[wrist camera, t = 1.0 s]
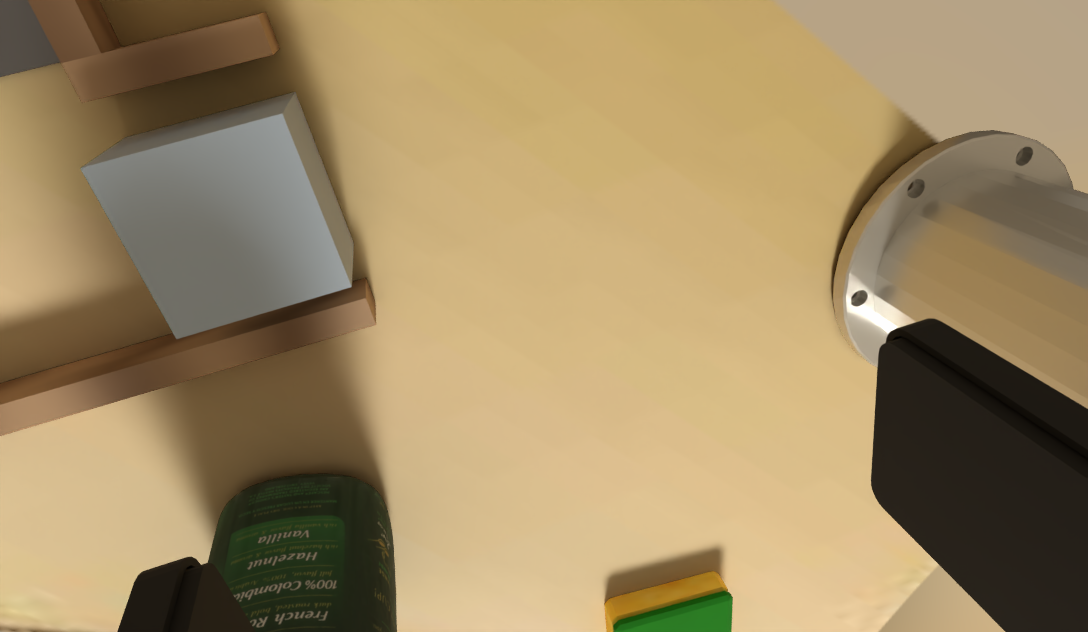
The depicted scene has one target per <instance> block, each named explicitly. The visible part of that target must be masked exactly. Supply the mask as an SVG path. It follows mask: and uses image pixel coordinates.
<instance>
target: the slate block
mask: <svg viewBox="0 0 1088 632" xmlns="http://www.w3.org/2000/svg"><path fill="white" fill-rule="evenodd" d="M80 169H81V171H82V172H83V174H84V176H85V178H86V180H87V181H88V183H89V185H90V187H91V188H92V190H93V192H94V194H95V196H96V197H97V199H98V201H99V203H100V204H101V206H102V208H103V210H104V212H105V213H106V215H107V217H108V219H109V220H110V222H111V224H112V226H113V227H114V229H115V231H116V233H117V235H118V236H119V238H120V240H121V242H122V243H123V245H124V247H125V249H126V251H127V252H128V254H129V256H130V258H131V259H132V261H133V263H134V265H135V267H136V268H137V270H138V272H139V274H140V275H141V277H142V279H143V281H144V283H145V284H146V286H147V288H148V290H149V291H150V293H151V295H152V297H153V298H154V300H155V302H156V304H157V306H158V307H159V309H160V311H161V313H162V314H163V316H164V318H165V320H166V322H167V323H168V325H169V327H170V329H171V330H172V332H173V334H174V336H175V338H176V339H179V338H182V337H186V336H189V335H192V334H196V333H199V332H203V331H206V330H209V329H213V328H216V327H219V326H223V325H226V324H229V323H233V322H236V321H239V320H243V319H246V318H249V317H253V316H256V315H259V314H263V313H266V312H269V311H273V310H276V309H280V308H283V307H286V306H290V305H293V304H296V303H300V302H303V301H306V300H310V299H313V298H316V297H320V296H323V295H326V294H330V293H333V292H336V291H340V290H343V289H347V288H350V287H352V272H353V251H354V242H353V240H352V237H351V235H350V232H349V229H348V227H347V224H346V222H345V219H344V217H343V214H342V211H341V209H340V206H339V204H338V201H337V198H336V196H335V193H334V191H333V188H332V185H331V183H330V180H329V178H328V175H327V173H326V170H325V167H324V165H323V162H322V160H321V157H320V154H319V152H318V149H317V147H316V144H315V141H314V139H313V136H312V134H311V131H310V129H309V126H308V123H307V121H306V118H305V116H304V113H303V110H302V108H301V105H300V103H299V100H298V98H297V95H296V92H293V93H289V94H285V95H281V96H278V97H274V98H270V99H266V100H263V101H259V102H255V103H252V104H248V105H244V106H240V107H237V108H233V109H229V110H226V111H222V112H218V113H214V114H211V115H207V116H203V117H200V118H196V119H192V120H188V121H185V122H181V123H177V124H173V125H170V126H166V127H162V128H159V129H155V130H151V131H147V132H144V133H140V134H136V135H133V136H129V137H125V138H124V139H122V140H121V141H119V142H118V143H116V144H115V145H114V146H112V147H111V148H109V149H108V150H106V151H105V152H103V153H102V154H100V155H99V156H97V157H96V158H94V159H93V160H91V161H90V162H89V163H87V164H86V165H84V166H83V167H81V168H80Z"/></svg>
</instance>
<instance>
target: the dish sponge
mask: <svg viewBox="0 0 1088 632" xmlns="http://www.w3.org/2000/svg"><path fill="white" fill-rule="evenodd" d="M732 601H733V597H732V596H731V594H730V593H729V592H728V589H727V587H726V586H725V584H724V582H723V581H722V579H721V577H720V576H719V574H718V573H716V572H714V571H711V572H707V573H703V574H699V575H696V576H692V577H688V578H684V579H680V580H677V581H673V582H669V583H665V584H662V585H658V586H654V587H650V588H647V589H643V590H639V591H635V592H631V593H628V594H624V595H620V596H616V597H613V598H609V600H608V601H607V602H606V603H605V604H604V605H605V617H606V629H607V632H731V625H732Z"/></svg>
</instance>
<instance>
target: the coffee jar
mask: <svg viewBox="0 0 1088 632" xmlns="http://www.w3.org/2000/svg"><path fill="white" fill-rule="evenodd" d="M208 563H212V564H213V565H214V566H215V567H216V568H217V569H218V571H219V573H220V574H221V576H222V577H223V579H224V581H225V582H226V584H227V585H228V587H229V589H230V590H231V592H232V594H233V595H234V597H235V598H236V600H237V602H238V603H239V605H240V607H241V608H242V610H243V611H244V613H245V615H246V616H247V618H248V619H249V621H250V623H251V624H252V626H253V628H254V629H255V631H256V632H397V622H396V585H395V563H394V546H393V536H392V529H391V523H390V519H389V515H388V511H387V508H386V505H385V503H384V501H383V499H382V497H381V496H380V494H379V493H378V492H377V491H376V490H375V489H374V488H373V487H372V486H371V485H369V484H367V483H365V482H363V481H361V480H359V479H356V478H353V477H349V476H342V475H333V474H302V475H295V476H288V477H282V478H277V479H273V480H270V481H266V482H263V483H259V484H256V485H254V486H251V487H249V488H247V489H245V490H243V491H242V492H240V493H239V494H237V495H236V496H235V497H234V498H232V499H231V500H230V501H229V502H228V503H227V505H226V506H225V508H224V510H223V511H222V513H221V516H220V518H219V522H218V525H217V529H216V532H215V536H214V540H213V544H212V548H211V552H210V556H209V560H208Z"/></svg>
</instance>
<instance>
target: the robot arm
mask: <svg viewBox="0 0 1088 632" xmlns="http://www.w3.org/2000/svg"><path fill="white" fill-rule="evenodd" d="M833 303H834V309H835V315H836V321H837V323H838V326H839V328H840V330H841V333H842V335H843V337H844V338H845V340H846V341H847V342H848V344H849V345H850V346H851V347H852V349H853V350H854V351H855V352H856V353H858V354H859V355H860V356H861V357H863V358H864V359H865V360H866V361H868V362H869V363H870V364H872V365H873V366H875V367H877V368H878V370H877V387H876V405H875V422H874V439H873V457H872V474H871V486H872V490H873V493H874V495H875V497H876V499H877V501H878V502H879V504H880V505H881V506H882V507H883V508H884V509H885V511H886V512H887V513H888V514H889V515H890V516H891V517H892V518H893V519H894V520H895V521H896V522H897V523H898V524H899V525H900V526H901V527H902V528H903V529H904V530H905V531H906V532H907V533H908V534H909V535H910V536H911V537H912V538H913V539H914V540H915V541H916V542H917V543H918V544H919V545H920V546H921V547H922V548H923V549H924V550H925V551H926V552H927V553H928V554H929V555H930V556H931V557H932V558H933V559H934V560H935V561H936V562H937V563H938V564H939V565H940V566H941V567H942V568H943V569H944V570H945V571H946V572H947V573H948V574H949V575H950V576H951V577H952V578H953V579H954V580H955V581H956V582H957V583H958V584H959V585H960V586H961V587H962V588H963V589H964V590H965V591H966V592H967V593H968V594H969V595H970V596H971V597H972V598H973V599H974V600H975V601H976V602H977V603H978V604H979V605H980V606H981V607H982V608H983V609H984V610H985V611H986V612H987V613H988V614H989V616H991V617H992V619H993V620H994V621H995V622H996V623H997V624H998V625H999V626H1000V627H1001V628H1002V629H1003V630H1004V631H1005V632H1088V194H1086V193H1083V192H1080V191H1077V190H1074V189H1073V185H1072V181H1071V179H1070V177H1069V174H1068V172H1067V170H1066V167H1065V165H1064V164H1063V163H1062V162H1061V160H1060V159H1059V158H1058V157H1057V156H1056V155H1055V153H1054V152H1053V151H1052V150H1050V149H1049V148H1047V147H1046V146H1044V145H1043V144H1041V143H1040V142H1038V141H1037V140H1033V139H1030V138H1027V137H1023V136H1020V135H1016V134H1013V133H1006V132H1000V131H994V130H991V131H979V132H969V133H966V134H963V135H959V136H956V137H952V138H949V139H946V140H944V141H942V142H940V143H938V144H936V145H934V146H932V147H930V148H928V149H926V150H924V151H922V152H921V153H919V154H918V155H916V156H915V157H914V158H912V159H911V160H909V161H908V162H907V163H905V164H904V165H902V166H901V167H900V168H899V169H898V170H897V171H896V172H895V173H894V174H892V175H891V176H890V177H889V178H888V179H887V180H886V181H885V182H884V183H883V184H882V185H881V186H880V187H879V188H878V190H877V191H876V192H875V193H874V195H873V196H872V197H871V198H870V200H869V201H868V202H867V203H866V205H865V206H864V207H863V209H862V210H861V212H860V214H859V215H858V217H857V219H856V220H855V222H854V224H853V226H852V227H851V229H850V231H849V233H848V235H847V238H846V240H845V243H844V245H843V248H842V250H841V253H840V255H839V259H838V263H837V268H836V272H835V277H834V290H833ZM118 632H256V631H255V629H254V628H253V626H252V624H251V623H250V621H249V619H248V618H247V616H246V615H245V613H244V611H243V610H242V608H241V607H240V605H239V603H238V602H237V600H236V598H235V597H234V595H233V594H232V592H231V590H230V589H229V587H228V585H227V584H226V582H225V581H224V579H223V577H222V576H221V574H220V573H219V571H218V569H217V568H216V567H215V566H214V565H213V564H212V563H206V564H203V565H201V564H200V563H199V562H198V561H197V560H196V559H195V558H193V557H186V558H183V559H180V560H177V561H174V562H170V563H167V564H164V565H161V566H158V567H155V568H152V569H149V570H146V571H143V572H141V573H140V574H139V575H138V576H137V578H136V580H135V582H134V585H133V588H132V591H131V594H130V597H129V599H128V602H127V605H126V608H125V611H124V614H123V617H122V620H121V623H120V626H119V629H118Z"/></svg>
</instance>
